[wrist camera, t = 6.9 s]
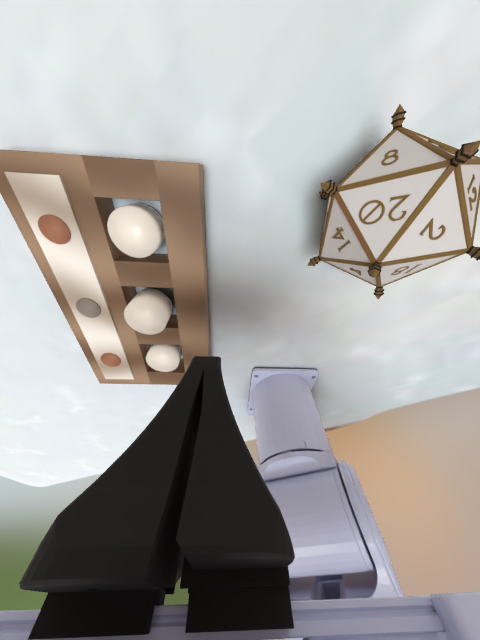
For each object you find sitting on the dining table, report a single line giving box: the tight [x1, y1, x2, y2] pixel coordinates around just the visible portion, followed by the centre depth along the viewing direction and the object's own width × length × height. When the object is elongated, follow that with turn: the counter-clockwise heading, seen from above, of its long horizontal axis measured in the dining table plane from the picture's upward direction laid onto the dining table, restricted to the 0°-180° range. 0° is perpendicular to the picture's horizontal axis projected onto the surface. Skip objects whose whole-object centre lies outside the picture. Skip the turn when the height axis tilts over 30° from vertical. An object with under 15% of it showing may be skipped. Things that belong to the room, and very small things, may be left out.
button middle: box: [124, 289, 173, 335], centre depth 17 cm, size 3×3×2 cm
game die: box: [307, 105, 480, 299], centre depth 12 cm, size 9×8×10 cm
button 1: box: [107, 203, 165, 258], centre depth 14 cm, size 3×3×2 cm
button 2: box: [146, 344, 182, 372], centre depth 21 cm, size 3×3×2 cm
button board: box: [0, 150, 210, 385], centre depth 18 cm, size 20×12×2 cm, turn 177°
